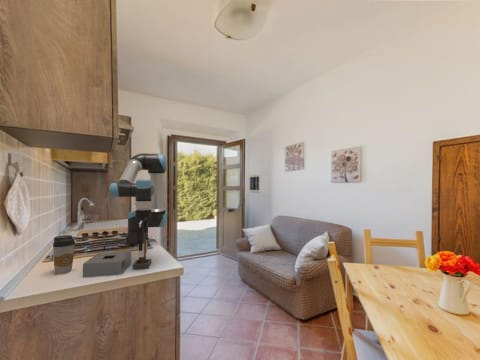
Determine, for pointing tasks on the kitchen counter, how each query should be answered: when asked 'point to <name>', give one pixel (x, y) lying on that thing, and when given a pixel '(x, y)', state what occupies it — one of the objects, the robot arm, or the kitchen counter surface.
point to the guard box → (107, 264)
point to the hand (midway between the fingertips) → (142, 254)
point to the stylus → (143, 259)
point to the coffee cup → (63, 255)
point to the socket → (141, 265)
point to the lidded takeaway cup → (61, 238)
